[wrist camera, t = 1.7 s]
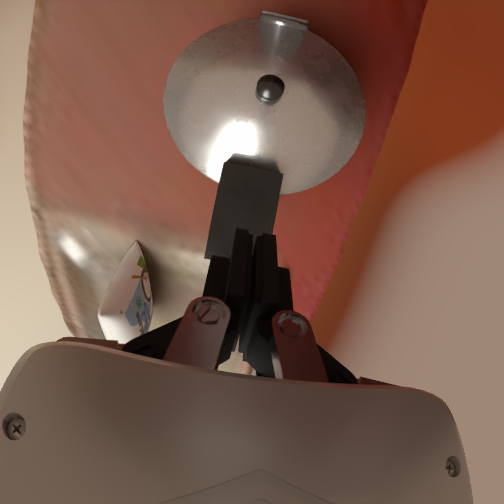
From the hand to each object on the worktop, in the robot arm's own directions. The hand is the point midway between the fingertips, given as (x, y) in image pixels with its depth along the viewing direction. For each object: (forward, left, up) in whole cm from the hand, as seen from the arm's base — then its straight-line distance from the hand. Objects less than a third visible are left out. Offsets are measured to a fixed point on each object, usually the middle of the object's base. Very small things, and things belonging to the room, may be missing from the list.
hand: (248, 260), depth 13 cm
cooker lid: (-2, 0, -18) cm, 18 cm away
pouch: (+37, -17, -36) cm, 54 cm away
